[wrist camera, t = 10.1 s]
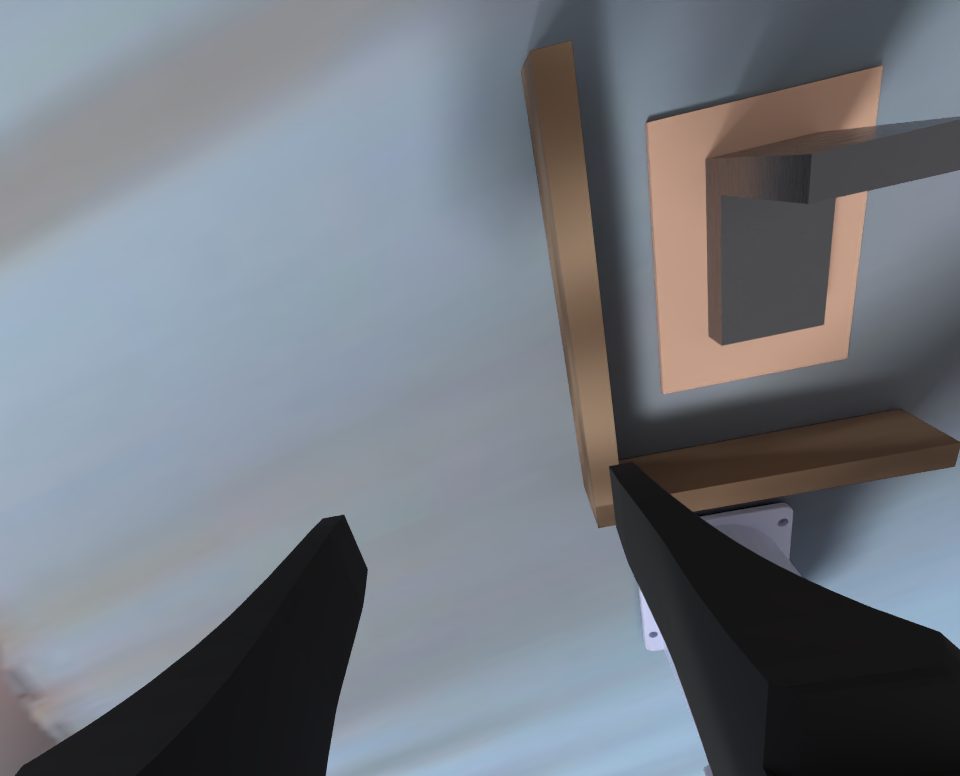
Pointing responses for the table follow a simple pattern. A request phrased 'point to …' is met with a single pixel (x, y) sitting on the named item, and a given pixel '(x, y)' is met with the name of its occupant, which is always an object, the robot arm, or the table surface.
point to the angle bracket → (799, 217)
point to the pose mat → (684, 233)
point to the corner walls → (683, 473)
